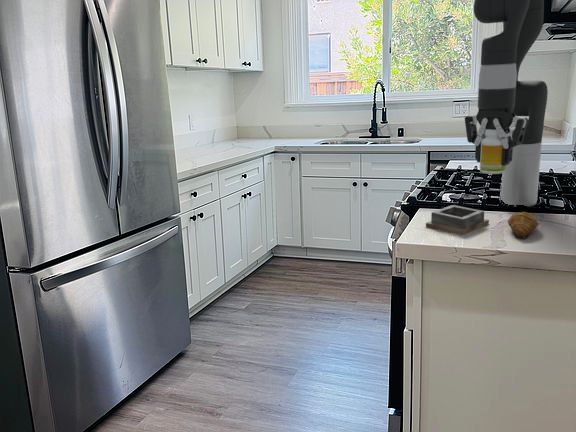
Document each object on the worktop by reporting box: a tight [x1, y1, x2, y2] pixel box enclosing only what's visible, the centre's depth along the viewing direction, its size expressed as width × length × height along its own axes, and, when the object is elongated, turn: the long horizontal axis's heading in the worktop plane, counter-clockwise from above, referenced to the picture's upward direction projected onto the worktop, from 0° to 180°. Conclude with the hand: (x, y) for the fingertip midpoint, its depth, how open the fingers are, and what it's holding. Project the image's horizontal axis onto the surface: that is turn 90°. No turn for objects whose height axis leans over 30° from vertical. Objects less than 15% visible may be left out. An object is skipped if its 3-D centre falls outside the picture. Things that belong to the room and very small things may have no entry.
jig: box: [425, 204, 490, 236], centre depth 129 cm, size 12×10×4 cm
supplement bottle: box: [479, 129, 506, 175], centre depth 115 cm, size 5×5×10 cm
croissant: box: [507, 211, 540, 239], centre depth 122 cm, size 14×7×5 cm, turn 153°
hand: (492, 162), depth 116 cm, fingers closed on supplement bottle, 5 cm apart
